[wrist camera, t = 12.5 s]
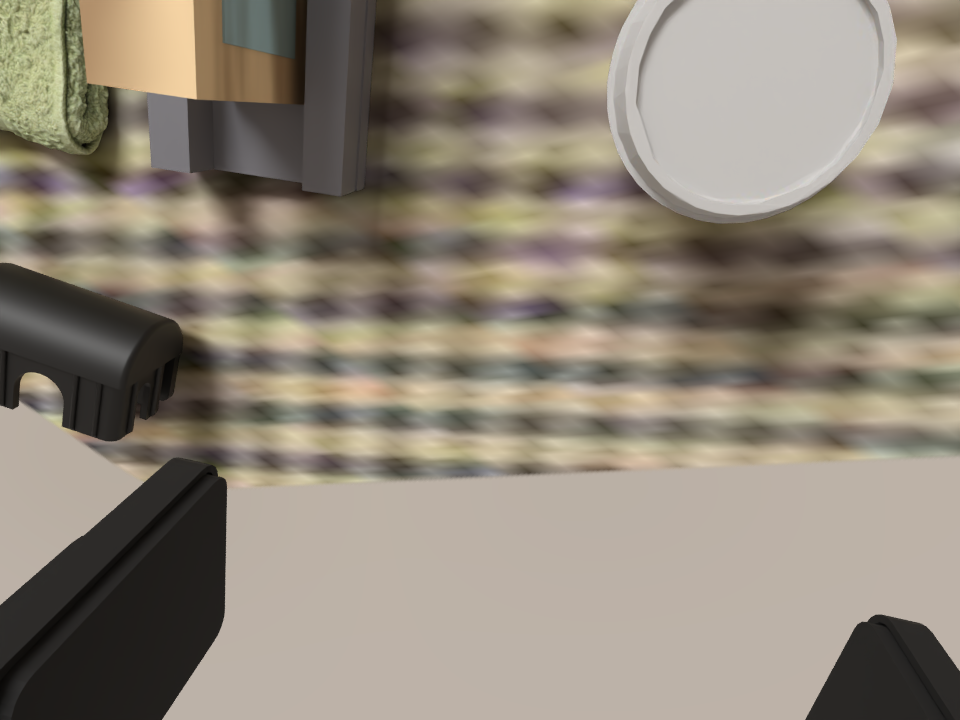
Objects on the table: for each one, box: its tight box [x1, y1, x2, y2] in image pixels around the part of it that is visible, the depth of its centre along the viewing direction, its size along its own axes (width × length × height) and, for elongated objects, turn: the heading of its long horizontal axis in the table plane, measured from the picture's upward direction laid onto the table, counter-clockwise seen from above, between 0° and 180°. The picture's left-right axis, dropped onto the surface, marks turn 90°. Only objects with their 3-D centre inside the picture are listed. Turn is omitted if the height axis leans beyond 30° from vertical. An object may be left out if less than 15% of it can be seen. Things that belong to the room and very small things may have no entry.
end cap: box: [0, 263, 183, 441], centre depth 36 cm, size 10×7×7 cm
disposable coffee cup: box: [607, 0, 897, 224], centre depth 26 cm, size 10×10×12 cm
